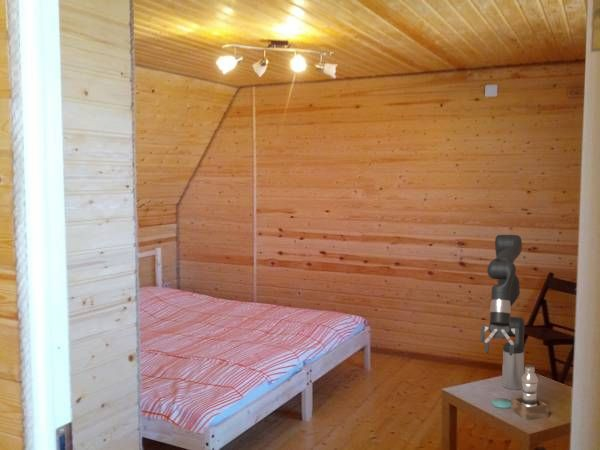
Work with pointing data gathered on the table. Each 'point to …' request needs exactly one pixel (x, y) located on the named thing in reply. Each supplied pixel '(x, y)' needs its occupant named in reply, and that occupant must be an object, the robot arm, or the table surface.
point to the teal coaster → (501, 403)
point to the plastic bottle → (529, 387)
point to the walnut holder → (529, 409)
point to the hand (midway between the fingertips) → (498, 354)
